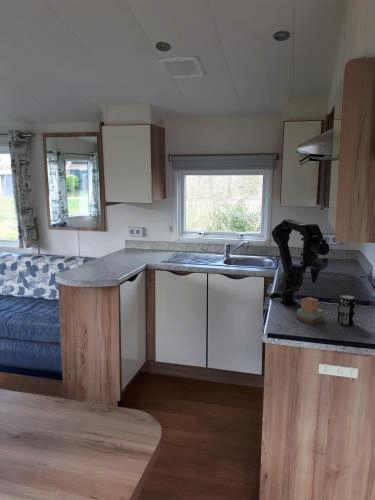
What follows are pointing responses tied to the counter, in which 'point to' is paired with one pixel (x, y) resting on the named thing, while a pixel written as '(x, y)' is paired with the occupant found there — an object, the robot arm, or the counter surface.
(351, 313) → the beverage can
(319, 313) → the sage slab
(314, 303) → the tan cube
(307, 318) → the walnut slab
